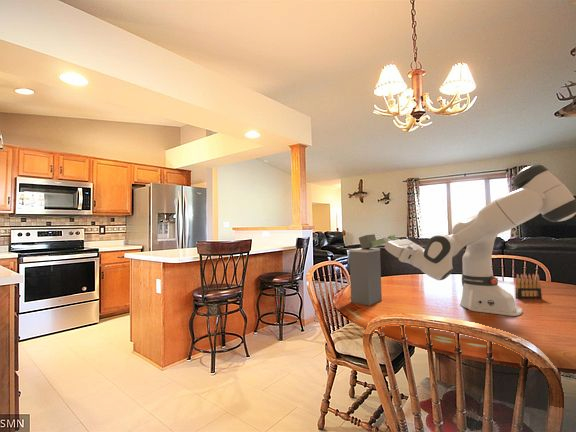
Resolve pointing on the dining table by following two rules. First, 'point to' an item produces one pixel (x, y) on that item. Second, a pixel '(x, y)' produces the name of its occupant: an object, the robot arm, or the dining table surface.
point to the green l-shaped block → (373, 241)
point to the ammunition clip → (528, 287)
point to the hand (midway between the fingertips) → (387, 237)
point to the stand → (365, 276)
